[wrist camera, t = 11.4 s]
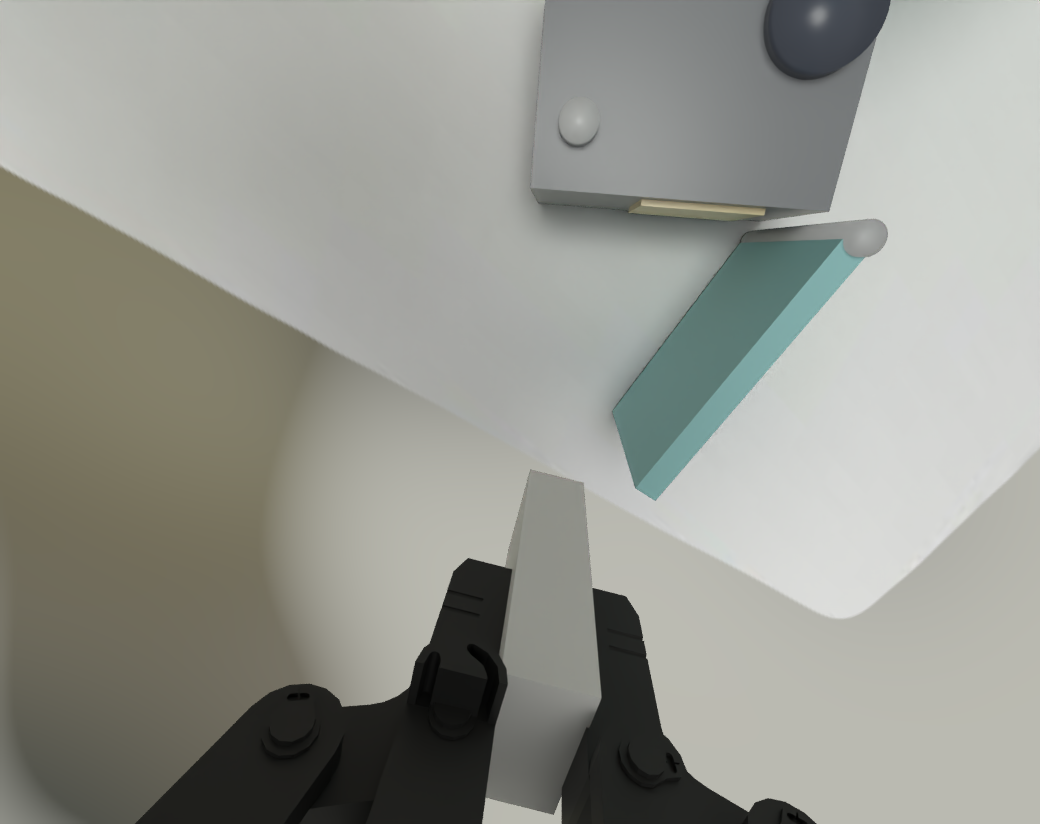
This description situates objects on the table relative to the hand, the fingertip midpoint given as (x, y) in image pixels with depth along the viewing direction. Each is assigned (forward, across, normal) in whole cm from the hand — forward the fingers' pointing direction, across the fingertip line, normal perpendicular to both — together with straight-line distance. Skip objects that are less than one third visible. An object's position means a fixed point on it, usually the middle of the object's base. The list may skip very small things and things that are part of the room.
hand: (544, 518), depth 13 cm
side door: (+21, +8, +4) cm, 23 cm away
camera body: (+22, +3, +15) cm, 27 cm away
